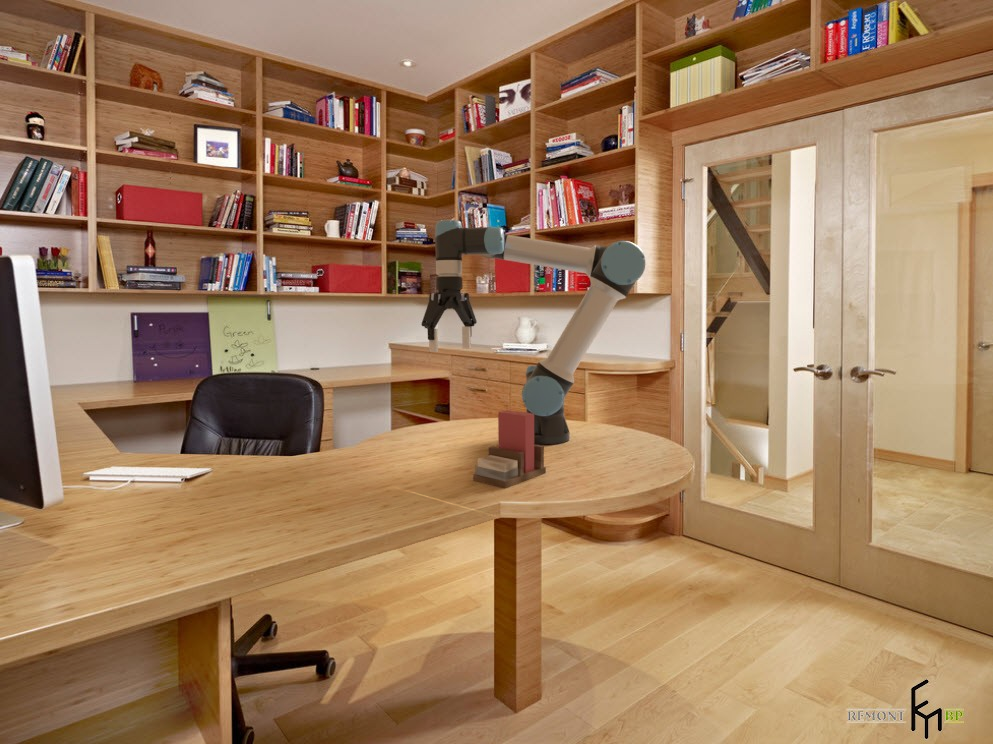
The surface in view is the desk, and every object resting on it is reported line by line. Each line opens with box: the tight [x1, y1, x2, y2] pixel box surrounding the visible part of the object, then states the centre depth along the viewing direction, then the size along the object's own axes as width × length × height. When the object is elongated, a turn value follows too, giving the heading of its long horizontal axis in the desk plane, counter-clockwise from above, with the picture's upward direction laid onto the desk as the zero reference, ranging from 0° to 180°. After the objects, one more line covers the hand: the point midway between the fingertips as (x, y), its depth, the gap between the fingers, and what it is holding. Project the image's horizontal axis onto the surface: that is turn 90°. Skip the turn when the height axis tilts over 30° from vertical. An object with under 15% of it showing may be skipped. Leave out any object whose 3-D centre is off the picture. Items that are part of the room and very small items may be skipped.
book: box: [497, 409, 535, 473], centre depth 153 cm, size 4×9×14 cm, turn 50°
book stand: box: [472, 443, 547, 489], centre depth 152 cm, size 16×10×7 cm, turn 140°
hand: (450, 350), depth 180 cm, fingers open, 13 cm apart
